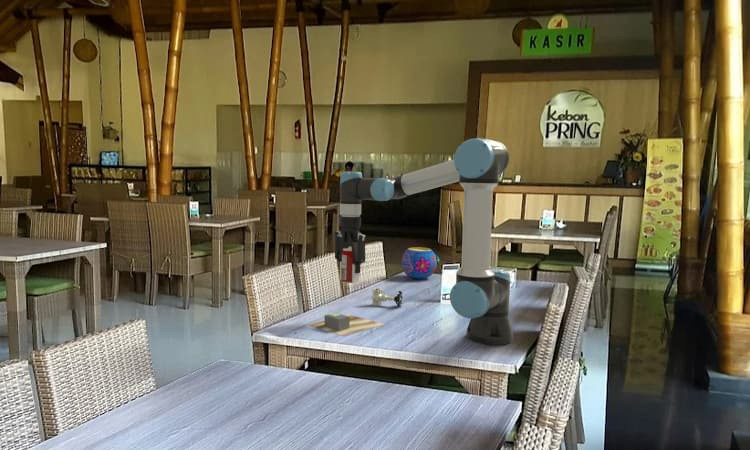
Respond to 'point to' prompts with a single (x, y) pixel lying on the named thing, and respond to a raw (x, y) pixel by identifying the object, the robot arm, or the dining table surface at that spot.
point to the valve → (385, 298)
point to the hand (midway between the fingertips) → (349, 280)
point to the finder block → (337, 321)
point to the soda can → (347, 265)
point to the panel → (350, 325)
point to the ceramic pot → (419, 262)
